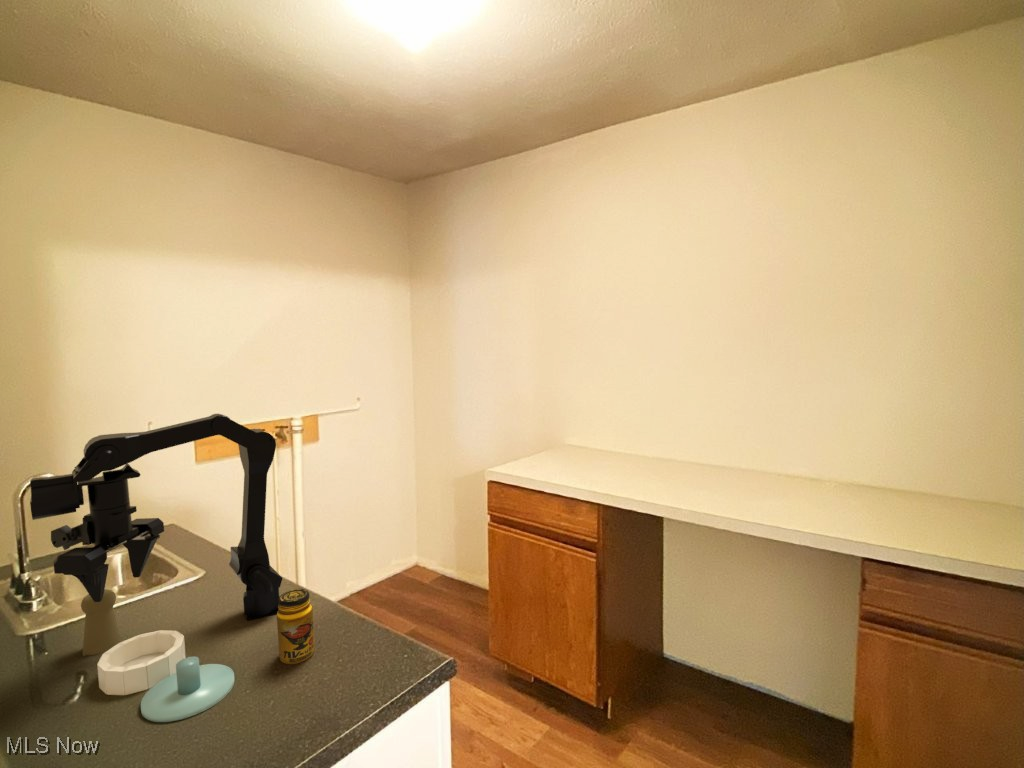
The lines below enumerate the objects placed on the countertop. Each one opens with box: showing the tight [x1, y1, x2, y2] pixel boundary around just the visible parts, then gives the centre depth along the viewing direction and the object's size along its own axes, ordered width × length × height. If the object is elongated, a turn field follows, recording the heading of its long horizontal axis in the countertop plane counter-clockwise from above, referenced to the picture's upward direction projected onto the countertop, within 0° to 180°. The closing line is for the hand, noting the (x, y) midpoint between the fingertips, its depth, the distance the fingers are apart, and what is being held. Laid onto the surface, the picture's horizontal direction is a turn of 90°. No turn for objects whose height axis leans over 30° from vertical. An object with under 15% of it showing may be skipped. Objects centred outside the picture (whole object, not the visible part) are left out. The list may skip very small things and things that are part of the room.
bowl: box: [96, 629, 187, 696], centre depth 90 cm, size 12×12×4 cm
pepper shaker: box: [80, 588, 123, 657], centre depth 98 cm, size 6×6×11 cm
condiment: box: [276, 588, 316, 665], centre depth 94 cm, size 7×8×12 cm
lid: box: [140, 656, 235, 723], centre depth 84 cm, size 13×13×5 cm
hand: (118, 588), depth 93 cm, fingers open, 9 cm apart
